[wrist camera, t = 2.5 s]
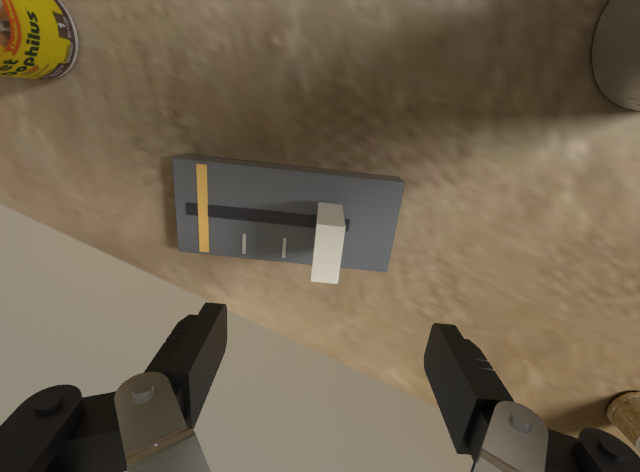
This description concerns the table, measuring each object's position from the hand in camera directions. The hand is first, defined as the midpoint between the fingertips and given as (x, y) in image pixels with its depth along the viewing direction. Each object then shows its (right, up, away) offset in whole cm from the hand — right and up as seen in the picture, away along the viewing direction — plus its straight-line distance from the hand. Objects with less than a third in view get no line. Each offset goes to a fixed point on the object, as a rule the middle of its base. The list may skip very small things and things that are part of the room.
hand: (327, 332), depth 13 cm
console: (-3, +6, +13) cm, 14 cm away
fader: (0, +5, +11) cm, 12 cm away
